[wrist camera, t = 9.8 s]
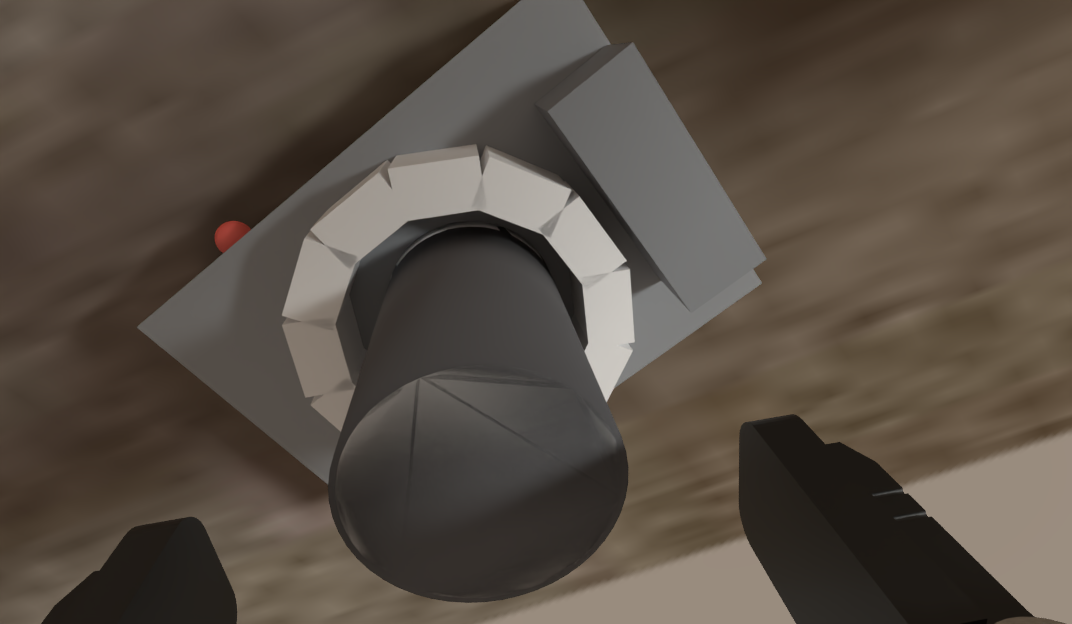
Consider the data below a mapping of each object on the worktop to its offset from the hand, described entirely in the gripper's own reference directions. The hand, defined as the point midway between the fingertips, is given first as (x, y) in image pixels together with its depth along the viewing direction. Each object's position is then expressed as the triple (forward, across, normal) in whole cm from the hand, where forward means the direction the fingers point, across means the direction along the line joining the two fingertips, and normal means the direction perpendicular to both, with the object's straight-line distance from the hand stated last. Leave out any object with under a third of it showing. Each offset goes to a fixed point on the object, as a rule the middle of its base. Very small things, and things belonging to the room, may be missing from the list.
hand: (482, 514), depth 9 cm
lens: (+8, 0, 0) cm, 8 cm away
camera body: (+13, 0, 0) cm, 13 cm away
